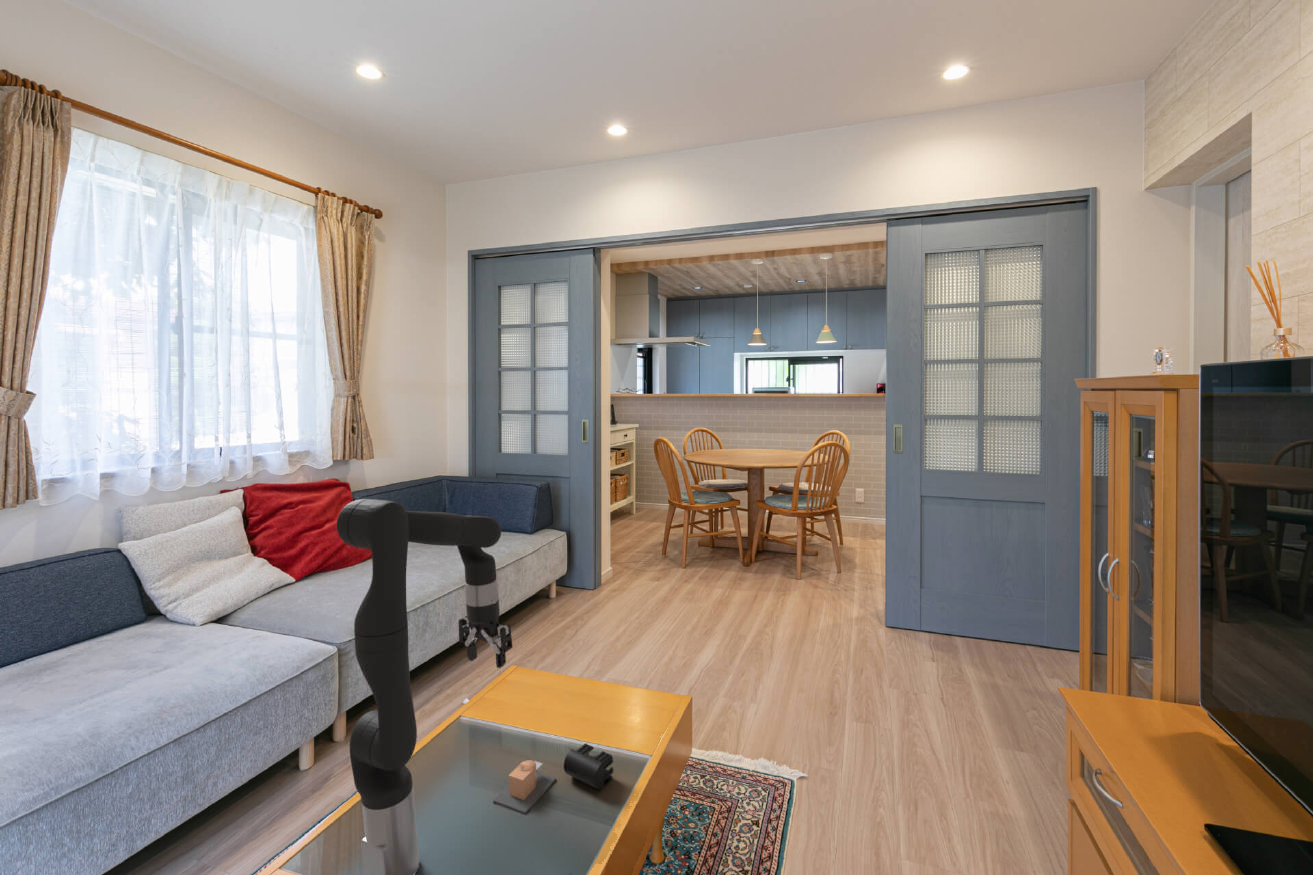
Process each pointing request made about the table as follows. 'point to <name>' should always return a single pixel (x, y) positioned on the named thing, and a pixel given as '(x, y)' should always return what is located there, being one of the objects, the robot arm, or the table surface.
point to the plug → (524, 779)
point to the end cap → (589, 766)
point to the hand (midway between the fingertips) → (486, 662)
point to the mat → (525, 805)
